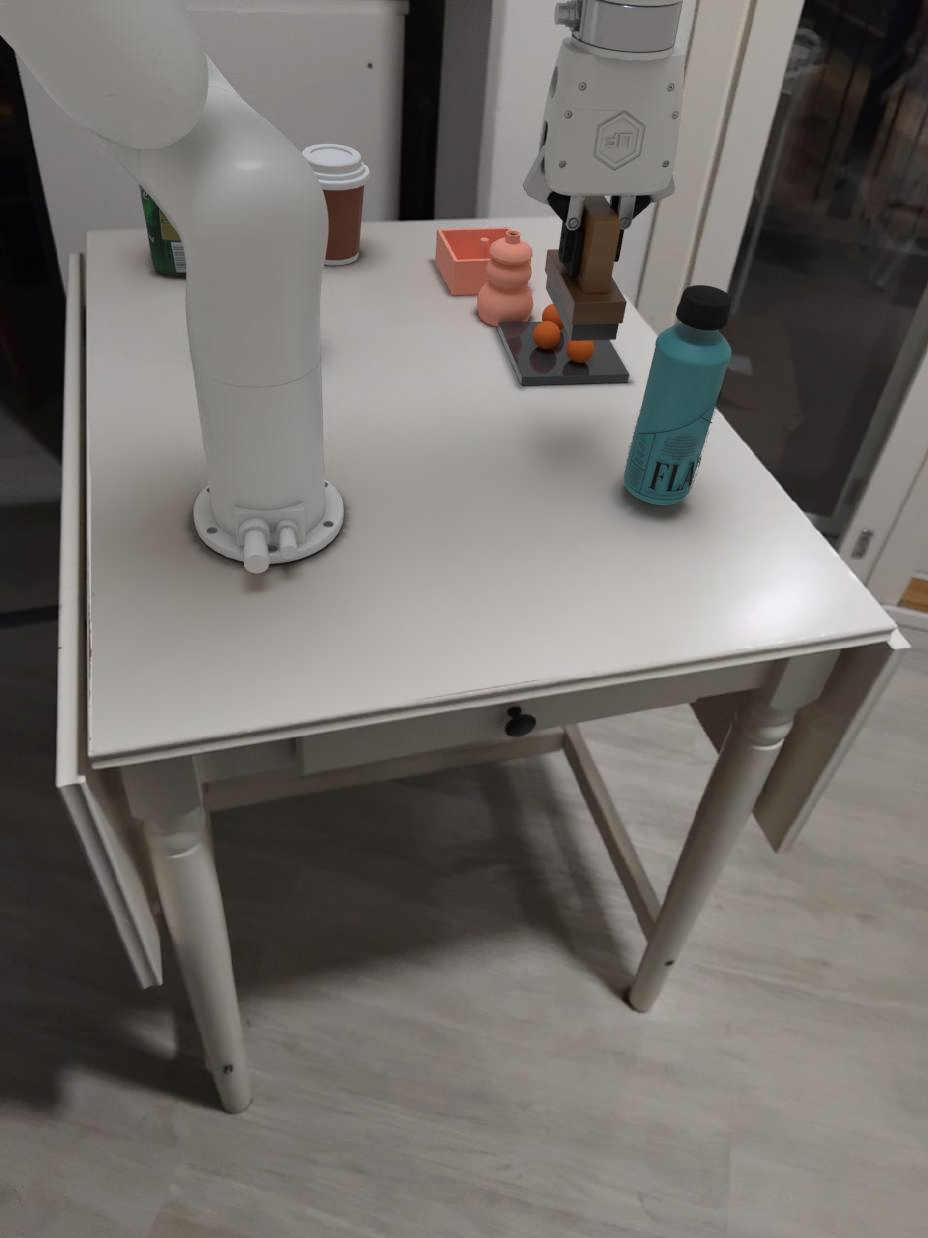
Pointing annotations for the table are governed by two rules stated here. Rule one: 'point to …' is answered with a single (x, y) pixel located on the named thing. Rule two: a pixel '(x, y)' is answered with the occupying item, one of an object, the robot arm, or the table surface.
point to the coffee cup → (340, 197)
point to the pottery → (488, 270)
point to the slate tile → (558, 359)
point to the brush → (589, 278)
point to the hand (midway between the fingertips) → (586, 267)
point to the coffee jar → (163, 239)
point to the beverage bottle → (680, 398)
